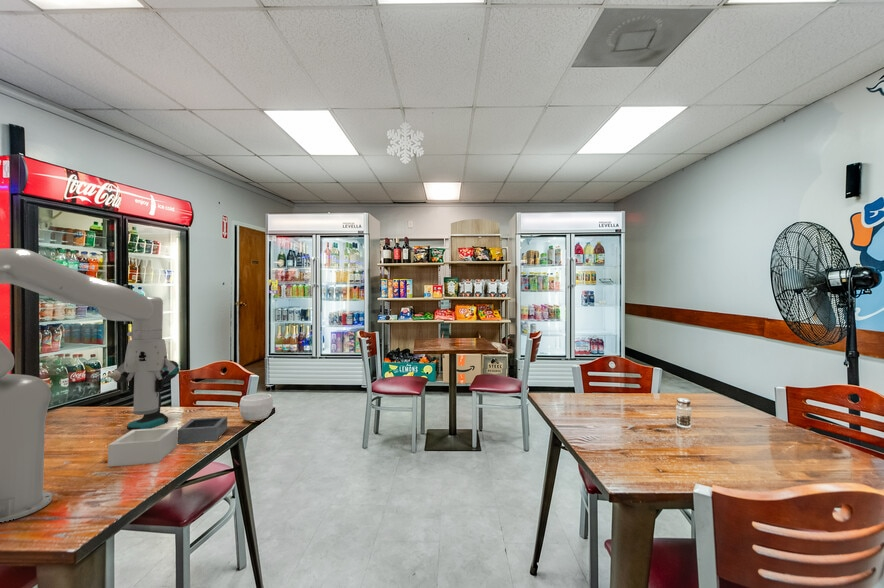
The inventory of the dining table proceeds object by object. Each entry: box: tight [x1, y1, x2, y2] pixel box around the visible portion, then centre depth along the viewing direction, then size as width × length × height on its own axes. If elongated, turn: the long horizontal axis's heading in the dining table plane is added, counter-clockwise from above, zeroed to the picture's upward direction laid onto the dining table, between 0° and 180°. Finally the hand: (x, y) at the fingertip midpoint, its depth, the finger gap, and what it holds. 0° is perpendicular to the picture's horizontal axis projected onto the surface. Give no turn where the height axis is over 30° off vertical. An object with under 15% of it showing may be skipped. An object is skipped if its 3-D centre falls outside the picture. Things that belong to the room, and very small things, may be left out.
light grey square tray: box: [107, 426, 179, 468], centre depth 119 cm, size 13×13×6 cm
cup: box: [239, 392, 274, 422], centre depth 154 cm, size 12×12×10 cm
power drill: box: [106, 360, 180, 430], centre depth 144 cm, size 26×9×25 cm, turn 168°
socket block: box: [177, 416, 228, 445], centre depth 135 cm, size 12×12×5 cm
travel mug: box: [133, 351, 159, 416], centre depth 119 cm, size 6×7×20 cm
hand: (146, 391), depth 119 cm, fingers closed on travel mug, 6 cm apart
